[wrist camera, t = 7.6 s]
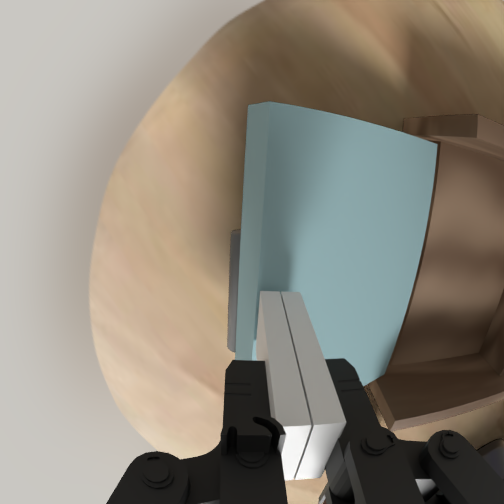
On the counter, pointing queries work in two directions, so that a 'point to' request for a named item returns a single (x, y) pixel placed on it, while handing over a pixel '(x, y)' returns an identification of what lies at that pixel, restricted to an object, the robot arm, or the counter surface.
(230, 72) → the counter surface
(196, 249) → the counter surface
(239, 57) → the counter surface
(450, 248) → the drawer box
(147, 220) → the counter surface
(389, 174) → the pale blue slab
